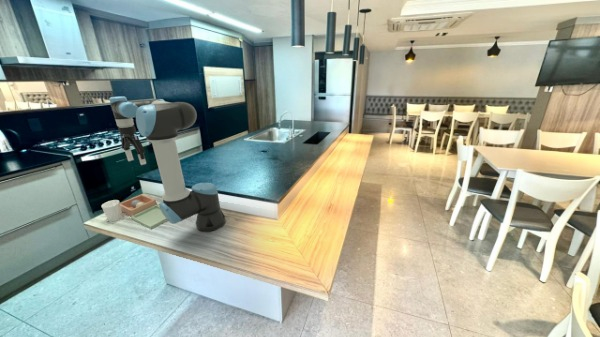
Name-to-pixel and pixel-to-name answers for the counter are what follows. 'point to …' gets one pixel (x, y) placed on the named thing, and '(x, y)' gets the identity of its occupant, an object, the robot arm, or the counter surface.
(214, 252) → the counter surface
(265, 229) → the counter surface
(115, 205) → the white cup
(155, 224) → the parts tray
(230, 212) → the counter surface
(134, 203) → the slate pebble
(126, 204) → the terracotta dish
